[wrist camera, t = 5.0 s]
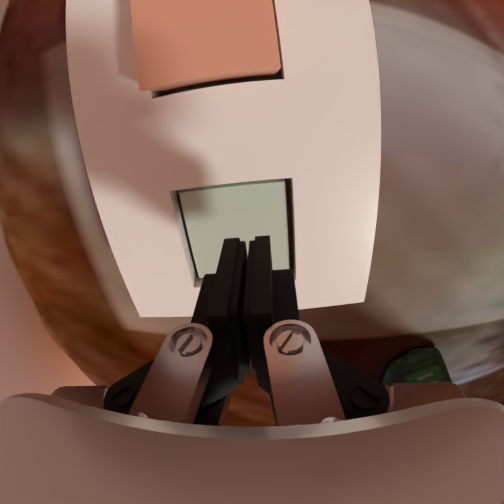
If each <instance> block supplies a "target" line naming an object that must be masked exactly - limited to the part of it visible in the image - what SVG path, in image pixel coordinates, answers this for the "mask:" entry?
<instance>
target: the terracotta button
mask: <svg viewBox="0 0 504 504" xmlns="http://www.w3.org/2000/svg"><path fill="white" fill-rule="evenodd" d="M131 18H132V31H133V42H134V52H135V61H136V69H137V77H138V84H139V91H170V90H175V89H179V88H184V87H189V86H194V85H200V84H205V83H211V82H218V81H225V80H232V79H241V78H250V77H262V76H274V75H275V74H276V73H277V72H278V71H279V69H280V68H281V64H280V55H279V47H278V39H277V31H276V24H275V17H274V10H273V3H272V0H131Z"/></svg>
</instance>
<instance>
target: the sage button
mask: <svg viewBox="0 0 504 504" xmlns="http://www.w3.org/2000/svg"><path fill="white" fill-rule="evenodd" d="M179 196H180V200H181V205H182V209H183V214H184V218H185V223H186V227H187V231H188V236H189V240H190V244H191V248H192V252H193V256H194V260H195V264H196V268H197V272H198V276H199V278H203V277H204V275H205V274H213V273H216V270H217V266H218V262H219V258H220V254H221V250H222V246H223V242H224V239H226V238H240V241H245V242H246V248H247V255H248V251H249V241H251V240H255V236H267V235H270V243H271V256H272V268H273V270H280V269H289V245H288V224H287V205H286V189H285V180H284V179H271V180H260V181H249V182H239V183H230V184H221V185H213V186H205V187H197V188H190V189H183V190H181V191H180V193H179Z"/></svg>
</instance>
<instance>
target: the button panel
mask: <svg viewBox="0 0 504 504" xmlns="http://www.w3.org/2000/svg"><path fill="white" fill-rule="evenodd" d="M272 3H273V10H274V17H275V24H276V31H277V39H278V47H279V55H280V64H281V68H280V69H279V71H278V72H277V73H276V74H275V75H274V76H262V77H250V78H241V79H232V80H225V81H218V82H211V83H205V84H200V85H194V86H189V87H184V88H179V89H175V90H170V91H139V84H138V77H137V69H136V61H135V52H134V42H133V31H132V18H131V0H66V45H67V60H68V71H69V80H70V88H71V95H72V102H73V108H74V114H75V120H76V125H77V131H78V135H79V140H80V145H81V149H82V154H83V158H84V162H85V166H86V170H87V174H88V177H89V181H90V185H91V188H92V192H93V195H94V199H95V202H96V205H97V208H98V211H99V215H100V218H101V221H102V224H103V227H104V229H105V232H106V235H107V238H108V241H109V243H110V246H111V249H112V252H113V254H114V257H115V259H116V262H117V264H118V267H119V269H120V272H121V274H122V277H123V279H124V281H125V284H126V286H127V288H128V291H129V293H130V295H131V298H132V300H133V302H134V304H135V306H136V309H137V311H138V313H139V315H140V317H181V316H193V313H194V309H195V306H196V302H197V298H198V295H199V291H200V288H201V284H202V281H203V278H199V276H198V272H197V268H196V264H195V260H194V256H193V252H192V248H191V244H190V240H189V236H188V231H187V227H186V223H185V218H184V214H183V209H182V205H181V200H180V196H179V193H180V191H181V190H183V189H190V188H197V187H205V186H213V185H221V184H230V183H239V182H249V181H260V180H271V179H284V180H285V189H286V205H287V224H288V245H289V269H293V272H294V280H295V288H296V296H297V304H298V309H308V308H317V307H327V306H335V305H344V304H352V303H359V302H364V300H365V294H366V289H367V283H368V278H369V272H370V265H371V259H372V252H373V244H374V237H375V228H376V219H377V208H378V196H379V182H380V161H381V104H380V84H379V70H378V60H377V50H376V42H375V34H374V27H373V21H372V15H371V9H370V4H369V0H272Z"/></svg>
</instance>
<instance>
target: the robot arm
mask: <svg viewBox="0 0 504 504" xmlns="http://www.w3.org/2000/svg"><path fill="white" fill-rule="evenodd" d="M250 358H251V363H252V368H253V373H254V375H257V380H258V385H259V386H260V387H261V388H262V389H263V390H265V391H266V392H267V393H268V394H270V399H271V404H272V410H273V416H274V421H275V427H229V426H223V424H224V421H225V417H226V413H227V410H228V406H229V403H230V399H231V391H232V390H234V389H235V388H236V387H238V386H239V383H243V382H244V375H249V373H250ZM0 504H504V406H503V405H501V404H500V403H498V402H495V401H491V400H487V399H479V398H465V397H464V394H463V391H462V390H461V388H460V387H459V386H458V385H456V384H454V383H452V382H430V383H393V385H392V386H384V385H383V384H381V383H380V382H379V381H377V380H375V379H374V378H372V377H370V376H368V375H367V374H365V373H363V372H362V371H360V370H358V369H356V368H355V367H353V366H351V365H350V364H348V363H346V362H344V361H343V360H341V359H339V358H338V357H336V356H334V355H333V354H331V353H329V352H328V351H326V350H324V349H323V348H321V346H320V343H319V340H318V338H317V335H316V333H315V331H314V329H313V328H312V327H311V326H309V325H308V324H307V323H304V322H302V321H299V312H298V304H297V296H296V288H295V280H294V272H293V269H280V270H273V268H272V256H271V243H270V235H267V236H255V240H251V241H249V251H248V255H247V248H246V242H245V241H240V238H226V239H224V242H223V246H222V250H221V254H220V258H219V262H218V266H217V270H216V273H213V274H205V275H204V277H203V281H202V284H201V288H200V291H199V295H198V298H197V302H196V306H195V309H194V313H193V317H192V320H191V323H188V324H183V325H180V326H178V327H176V328H175V329H173V330H172V331H171V332H170V333H169V334H168V335H167V337H166V338H165V340H164V342H163V344H162V346H161V348H160V350H159V352H158V354H157V356H156V358H155V359H153V360H152V361H150V362H149V363H147V364H145V365H144V366H142V367H141V368H139V369H137V370H136V371H134V372H132V373H131V374H129V375H127V376H126V377H124V378H122V379H121V380H119V381H117V382H116V383H114V384H113V385H112V386H111V387H110V388H107V386H106V385H99V386H64V387H59V388H58V389H56V390H55V391H54V392H53V393H52V395H46V394H39V393H22V394H15V395H11V396H9V397H6V398H5V399H3V400H2V401H1V402H0Z"/></svg>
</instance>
